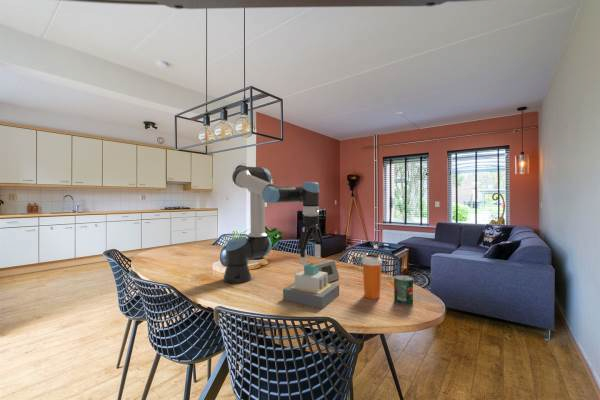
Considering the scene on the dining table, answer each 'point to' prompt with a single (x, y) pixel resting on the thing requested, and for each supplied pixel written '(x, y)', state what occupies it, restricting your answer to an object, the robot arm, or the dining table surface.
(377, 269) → the shaker bottle
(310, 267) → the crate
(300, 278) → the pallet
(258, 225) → the robot arm
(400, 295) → the canned tomato
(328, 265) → the digital clock
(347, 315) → the dining table surface
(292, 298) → the dock
